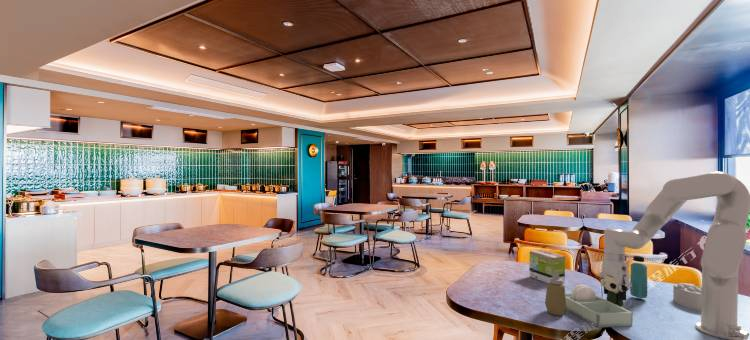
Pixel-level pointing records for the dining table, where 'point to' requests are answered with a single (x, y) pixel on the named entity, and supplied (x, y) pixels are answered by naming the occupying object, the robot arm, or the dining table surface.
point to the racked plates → (583, 293)
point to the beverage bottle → (638, 278)
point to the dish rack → (599, 312)
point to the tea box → (546, 265)
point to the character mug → (612, 290)
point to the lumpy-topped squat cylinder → (688, 295)
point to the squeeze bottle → (555, 295)
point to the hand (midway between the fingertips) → (614, 296)
